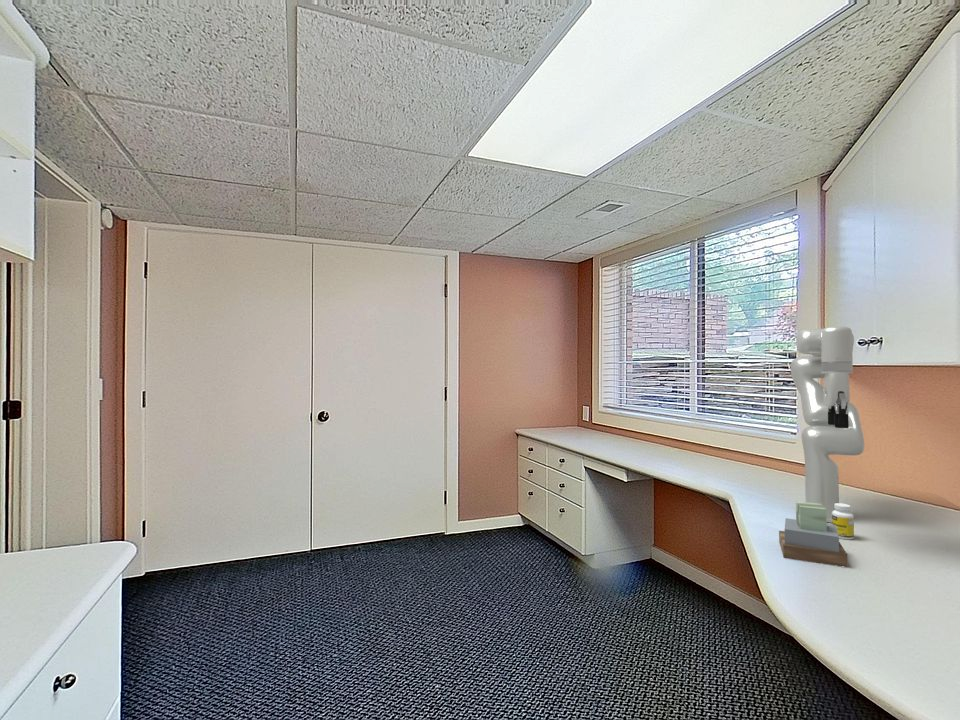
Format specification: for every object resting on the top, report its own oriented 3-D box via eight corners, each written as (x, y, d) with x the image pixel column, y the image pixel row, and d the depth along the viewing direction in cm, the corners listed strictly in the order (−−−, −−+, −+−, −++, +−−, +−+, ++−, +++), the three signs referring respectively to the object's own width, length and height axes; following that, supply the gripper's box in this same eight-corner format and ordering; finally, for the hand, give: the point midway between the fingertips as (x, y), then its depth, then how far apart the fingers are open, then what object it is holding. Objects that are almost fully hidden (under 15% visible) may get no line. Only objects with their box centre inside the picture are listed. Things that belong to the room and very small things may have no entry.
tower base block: (779, 544, 145) (778, 530, 145) (836, 551, 139) (836, 537, 139) (783, 560, 133) (783, 545, 133) (847, 569, 126) (847, 553, 126)
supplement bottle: (827, 535, 151) (827, 503, 151) (839, 533, 153) (839, 501, 153) (846, 540, 146) (845, 507, 146) (858, 538, 148) (857, 506, 148)
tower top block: (785, 531, 144) (785, 518, 144) (836, 539, 137) (835, 525, 137) (784, 543, 134) (784, 529, 134) (839, 552, 127) (838, 537, 127)
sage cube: (796, 522, 140) (795, 501, 140) (821, 525, 137) (821, 503, 137) (800, 528, 134) (800, 506, 134) (826, 531, 132) (826, 509, 132)
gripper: (816, 368, 155) (817, 423, 154) (827, 368, 139) (828, 428, 139) (845, 368, 152) (846, 424, 151) (859, 368, 136) (861, 430, 136)
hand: (837, 426), depth 145 cm, fingers open, 9 cm apart
